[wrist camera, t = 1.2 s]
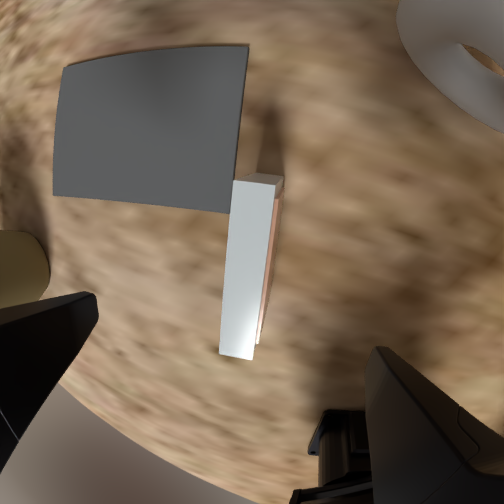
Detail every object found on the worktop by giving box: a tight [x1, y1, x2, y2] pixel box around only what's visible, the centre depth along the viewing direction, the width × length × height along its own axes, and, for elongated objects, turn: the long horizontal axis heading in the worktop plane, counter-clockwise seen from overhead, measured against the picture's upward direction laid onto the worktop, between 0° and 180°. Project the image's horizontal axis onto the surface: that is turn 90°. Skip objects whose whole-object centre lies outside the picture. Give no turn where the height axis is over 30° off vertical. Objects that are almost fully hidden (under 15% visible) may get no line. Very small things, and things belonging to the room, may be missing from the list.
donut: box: [396, 0, 504, 134], centre depth 8 cm, size 10×4×10 cm, turn 58°
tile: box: [219, 173, 285, 360], centre depth 15 cm, size 8×2×6 cm, turn 174°
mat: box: [53, 46, 249, 214], centre depth 17 cm, size 10×14×1 cm
